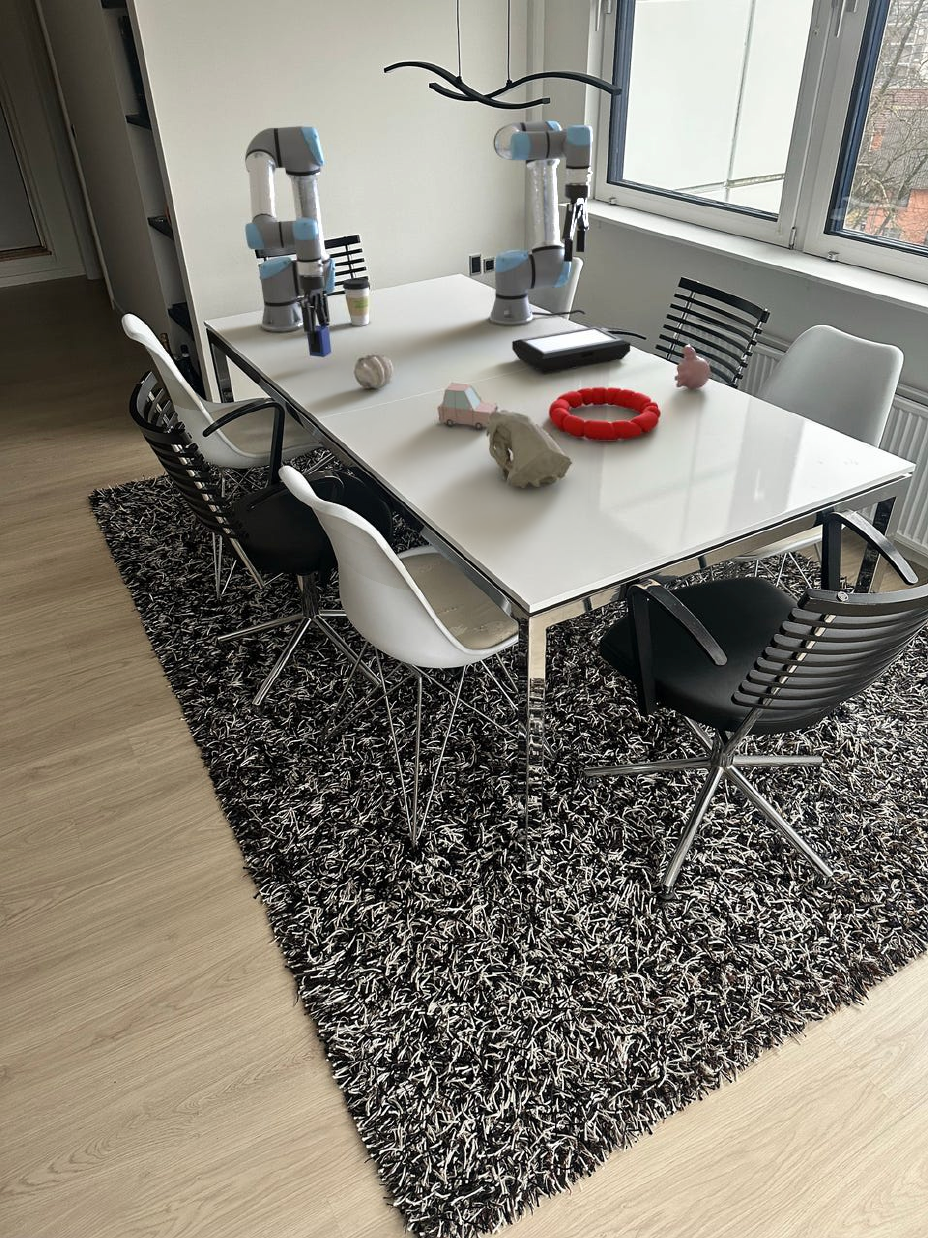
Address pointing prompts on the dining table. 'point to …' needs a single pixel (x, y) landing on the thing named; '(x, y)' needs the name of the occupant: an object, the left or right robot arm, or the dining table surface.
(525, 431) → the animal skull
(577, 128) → the right robot arm
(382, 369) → the seashell
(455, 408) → the toy car
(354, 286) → the coffee cup
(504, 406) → the dining table surface
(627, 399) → the decorative ring
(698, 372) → the figurine
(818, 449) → the dining table surface
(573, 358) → the electronic device
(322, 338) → the brick
